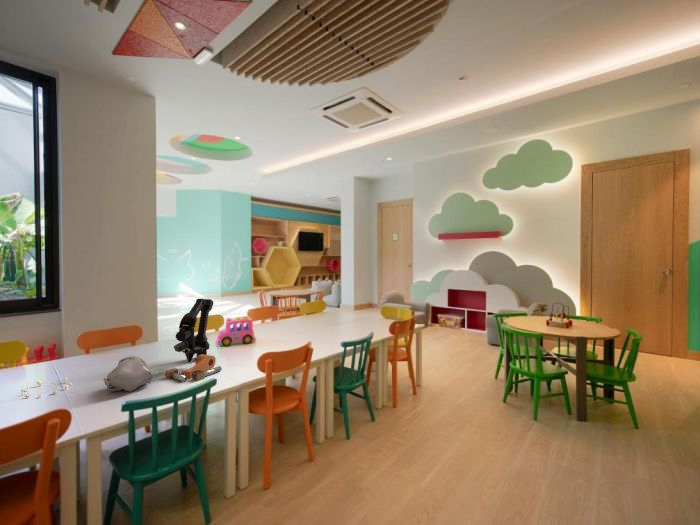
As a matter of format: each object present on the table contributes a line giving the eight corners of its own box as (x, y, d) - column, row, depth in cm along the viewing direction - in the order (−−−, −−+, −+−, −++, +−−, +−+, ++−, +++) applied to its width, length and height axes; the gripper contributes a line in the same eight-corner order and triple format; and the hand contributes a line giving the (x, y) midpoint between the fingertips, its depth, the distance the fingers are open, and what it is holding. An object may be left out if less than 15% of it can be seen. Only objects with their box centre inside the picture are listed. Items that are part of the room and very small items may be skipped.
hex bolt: (165, 377, 181) (165, 370, 181) (174, 374, 185) (174, 367, 185) (179, 383, 173) (179, 376, 173) (188, 380, 178) (188, 373, 178)
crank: (205, 365, 202) (205, 352, 201) (215, 366, 199) (215, 354, 199) (179, 377, 182) (179, 363, 182) (190, 379, 180) (190, 365, 180)
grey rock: (104, 402, 154) (106, 373, 152) (101, 383, 167) (103, 356, 165) (152, 393, 168) (155, 366, 165) (147, 376, 180) (149, 351, 178)
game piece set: (19, 390, 163) (19, 383, 163) (71, 379, 177) (71, 372, 177) (18, 404, 150) (18, 396, 149) (75, 391, 164) (74, 383, 163)
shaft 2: (197, 381, 177) (197, 373, 177) (192, 379, 179) (191, 372, 179) (222, 371, 190) (222, 365, 190) (217, 370, 193) (217, 363, 193)
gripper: (167, 337, 193) (167, 362, 194) (185, 342, 183) (185, 369, 184) (185, 333, 203) (185, 357, 203) (203, 337, 193) (203, 363, 193)
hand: (189, 362), depth 196 cm, fingers closed
